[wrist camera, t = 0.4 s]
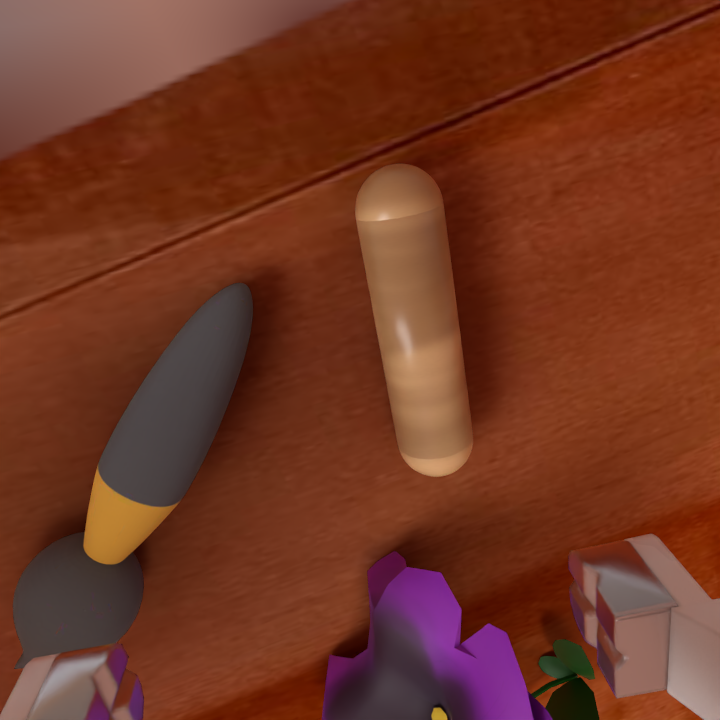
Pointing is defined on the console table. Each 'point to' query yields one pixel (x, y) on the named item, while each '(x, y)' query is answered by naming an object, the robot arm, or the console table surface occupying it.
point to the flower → (444, 662)
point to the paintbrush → (136, 486)
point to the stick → (416, 316)
